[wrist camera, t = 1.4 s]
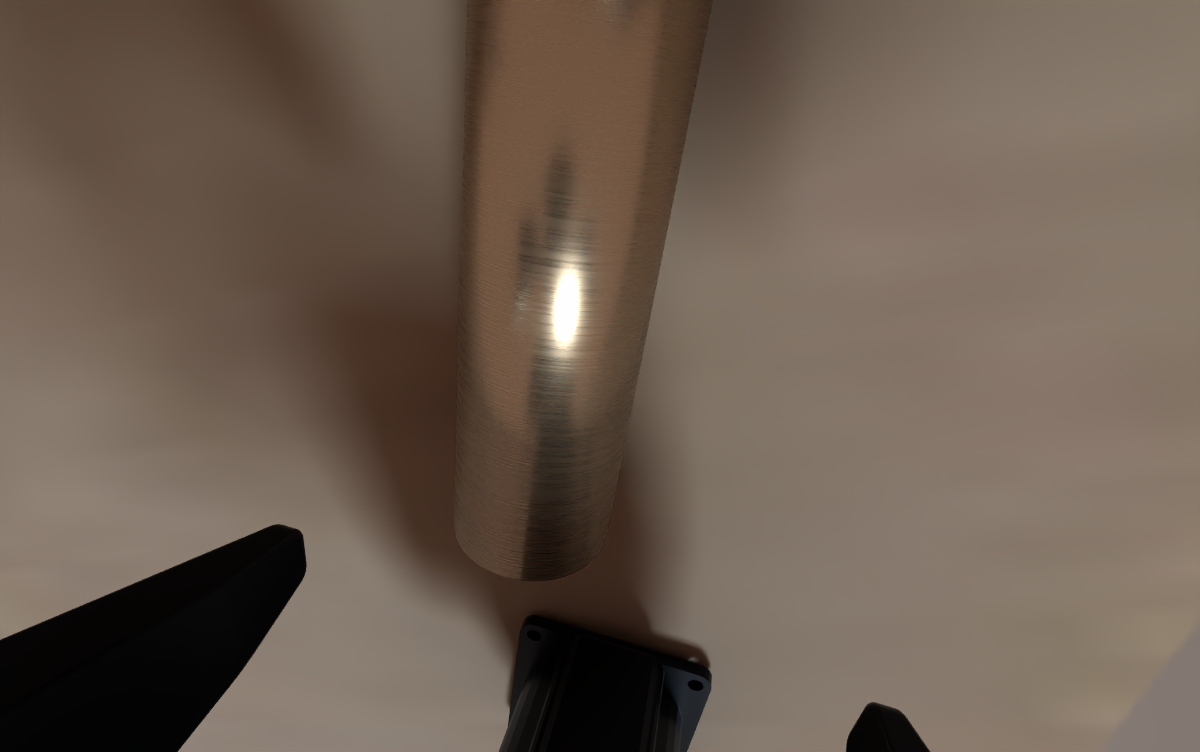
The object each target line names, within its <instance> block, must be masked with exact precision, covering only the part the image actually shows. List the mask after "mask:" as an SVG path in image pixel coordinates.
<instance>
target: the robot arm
mask: <svg viewBox="0 0 1200 752" xmlns="http://www.w3.org/2000/svg"><path fill="white" fill-rule="evenodd" d="M306 567H307V565H306V556H305V547H304V539H303V534H302V533H301V531H300V530H298V529H295V528H291V527H288V526H285V525H280V524H276V525H272V526H269V527H267V528H264V529H262V530H260V531H257V532H255V533H253V534H250V535H248V536H246V537H243V538H241V539H238V540H236V541H234V542H231V543H229V544H227V545H224V546H222V547H219V548H217V549H215V550H212V551H210V552H208V553H205V554H203V555H200V556H198V557H196V558H193V559H191V560H189V561H186V562H184V563H181V564H179V565H177V566H174V567H172V568H170V569H167V570H165V571H162V572H160V573H158V574H155V575H153V576H151V577H148V578H146V579H143V580H141V581H139V582H136V583H134V584H132V585H129V586H127V587H124V588H122V589H120V590H117V591H115V592H113V593H110V594H108V595H105V596H103V597H101V598H98V599H96V600H94V601H91V602H89V603H86V604H84V605H82V606H79V607H77V608H75V609H72V610H70V611H67V612H65V613H63V614H60V615H58V616H56V617H53V618H51V619H48V620H46V621H44V622H41V623H39V624H37V625H34V626H32V627H29V628H27V629H25V630H22V631H20V632H18V633H15V634H13V635H10V636H8V637H6V638H3V639H1V640H0V752H178V751H179V749H180V748H181V747H182V746H183V744H184V743H185V742H186V741H187V739H188V738H189V737H190V735H191V734H192V733H193V732H194V730H195V729H196V728H197V727H198V725H199V724H200V723H201V722H202V720H203V719H204V718H205V717H206V715H207V714H208V713H209V712H210V710H211V709H212V708H213V707H214V705H215V704H216V703H217V702H218V700H219V699H220V698H221V697H222V695H223V694H224V693H225V692H226V690H227V689H228V688H229V687H230V685H231V684H232V683H233V682H234V680H235V679H236V678H237V676H238V675H239V674H240V672H241V671H242V670H243V669H244V667H245V666H246V664H247V663H248V661H249V660H250V659H251V657H252V656H253V654H254V653H255V651H256V650H257V648H258V647H259V645H260V644H261V642H262V641H263V639H264V638H265V636H266V635H267V633H268V632H269V630H270V629H271V627H272V626H273V624H274V622H275V621H276V619H277V618H278V616H279V615H280V613H281V612H282V610H283V609H284V607H285V606H286V604H287V603H288V601H289V600H290V598H291V597H292V595H293V594H294V592H295V591H296V589H297V588H298V586H299V585H300V583H301V581H302V580H303V578H304V575H305V572H306ZM711 679H712V675H711V673H710V671H709V670H708V669H707V668H706V667H704V666H702V665H699V664H696V663H693V662H690V661H686V660H683V659H680V658H676V657H673V656H670V655H666V654H663V653H660V652H657V651H653V650H650V649H647V648H643V647H640V646H637V645H633V644H630V643H627V642H624V641H620V640H617V639H614V638H610V637H607V636H604V635H600V634H597V633H594V632H591V631H587V630H584V629H581V628H577V627H574V626H571V625H567V624H564V623H561V622H558V621H554V620H551V619H548V618H544V617H541V616H536V615H532V616H528V617H527V618H526V619H525V621H524V623H523V625H522V628H521V630H520V636H519V644H518V651H517V659H516V667H515V675H514V683H513V691H512V699H511V706H510V714H509V722H508V728H507V731H506V734H505V736H504V739H503V742H502V744H501V747H500V750H499V752H687V750H688V748H689V745H690V742H691V740H692V737H693V735H694V732H695V730H696V727H697V724H698V722H699V719H700V717H701V714H702V712H703V709H704V707H705V704H706V701H707V699H708V696H709V694H710V691H711ZM846 752H930V751H929V749H928V748H927V746H926V745H925V744H924V742H923V741H922V739H921V738H920V736H919V735H918V733H917V732H916V731H915V729H914V728H913V726H912V725H911V723H910V722H909V720H908V719H907V718H906V716H905V715H904V714H903V713H902V712H901V711H899V710H897V709H895V708H892V707H889V706H885V705H882V704H879V703H875V702H871V703H869V704H867V706H866V707H865V708H864V710H863V712H862V713H861V715H860V717H859V718H858V720H857V722H856V723H855V725H854V727H853V728H852V730H851V732H850V734H849V736H848V739H847V746H846Z"/></svg>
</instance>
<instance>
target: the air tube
mask: <svg viewBox="0 0 1200 752" xmlns="http://www.w3.org/2000/svg"><path fill="white" fill-rule="evenodd" d="M712 3H713V0H467V33H466V71H465V110H464V148H463V187H462V225H461V264H460V302H459V341H458V379H457V418H456V456H455V495H454V532H455V536H456V539H457V541H458V543H459V545H460V547H461V548H462V550H463V551H464V552H465V554H466V555H467V556H468V557H469V558H470V559H471V560H472V561H474V562H475V563H476V564H478V565H479V566H481V567H482V568H484V569H486V570H488V571H490V572H492V573H494V574H497V575H499V576H503V577H506V578H510V579H516V580H522V581H545V580H552V579H557V578H561V577H565V576H567V575H570V574H573V573H575V572H577V571H579V570H581V569H582V568H584V567H585V566H587V565H588V564H589V563H591V562H592V561H593V560H594V559H595V558H596V557H597V555H598V554H599V553H600V551H601V550H602V548H603V546H604V544H605V541H606V538H607V533H608V528H609V523H610V518H611V513H612V508H613V503H614V498H615V492H616V487H617V482H618V477H619V472H620V467H621V462H622V457H623V452H624V447H625V442H626V437H627V432H628V427H629V422H630V417H631V412H632V407H633V402H634V397H635V391H636V386H637V381H638V376H639V371H640V366H641V361H642V356H643V351H644V346H645V341H646V336H647V331H648V326H649V321H650V316H651V311H652V306H653V301H654V295H655V290H656V285H657V280H658V275H659V270H660V265H661V260H662V255H663V250H664V245H665V240H666V235H667V230H668V225H669V220H670V215H671V210H672V205H673V200H674V194H675V189H676V184H677V179H678V174H679V169H680V164H681V159H682V154H683V149H684V144H685V139H686V134H687V129H688V124H689V119H690V114H691V109H692V104H693V98H694V93H695V88H696V83H697V78H698V73H699V68H700V63H701V58H702V53H703V48H704V43H705V38H706V33H707V28H708V23H709V18H710V13H711V8H712Z"/></svg>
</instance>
